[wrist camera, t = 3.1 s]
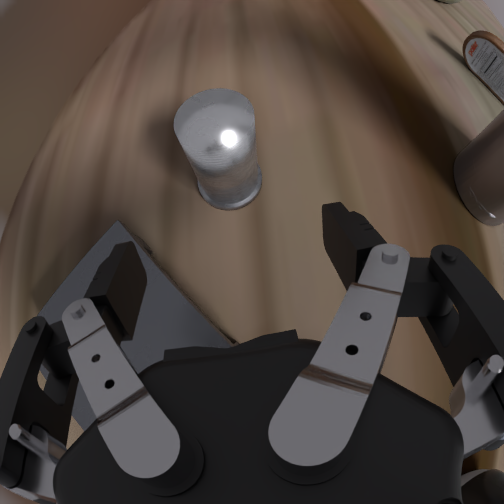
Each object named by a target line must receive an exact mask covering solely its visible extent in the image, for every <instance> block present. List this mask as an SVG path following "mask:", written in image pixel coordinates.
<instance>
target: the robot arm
mask: <svg viewBox="0 0 504 504" xmlns="http://www.w3.org/2000/svg"><path fill="white" fill-rule="evenodd" d="M454 180H455V183H456V187H457V190H458V192H459V195H460V197H461V199H462V201H463V202H464V204H465V206H466V207H467V208H468V210H469V211H470V212H471V213H472V214H473V215H474V216H475V217H476V218H477V219H478V220H480V221H481V222H482V223H485V224H487V225H491V226H495V225H499V224H502V223H504V110H503V111H502V112H501V113H500V114H499V115H498V116H497V117H496V118H495V119H494V120H493V121H492V122H491V123H490V124H489V125H488V126H487V127H486V128H485V129H484V130H483V131H482V132H481V133H480V134H479V135H478V136H477V137H476V138H475V139H474V140H473V141H472V142H471V143H469V144H468V145H467V146H466V147H465V148H464V149H463V150H462V151H461V152H460V153H459V154H458V156H457V157H456V159H455V163H454ZM322 222H323V241H324V246H325V250H326V252H327V254H328V256H329V258H330V260H331V262H332V263H333V265H334V267H335V269H336V271H337V273H338V275H339V277H340V279H341V280H342V282H343V284H344V286H345V288H346V290H347V293H346V295H345V297H344V299H343V301H342V303H341V305H340V307H339V309H338V311H337V313H336V315H335V317H334V319H333V321H332V323H331V325H330V327H329V329H328V331H327V333H326V335H325V337H324V339H323V341H322V342H320V341H316V340H310V339H298V336H297V332H296V329H294V330H289V331H284V332H279V333H273V334H268V335H263V336H260V337H257V338H255V339H252V340H250V341H247V342H244V343H242V344H239V345H236V346H233V347H230V348H215V347H201V346H191V347H183V348H175V349H166V350H164V357H163V360H161V361H158V362H156V363H154V364H152V365H150V366H148V367H147V368H145V369H144V370H142V371H141V372H140V373H138V372H137V370H136V369H135V367H134V366H133V364H132V363H131V361H130V360H129V358H128V357H127V355H126V354H125V352H124V351H123V349H122V348H121V346H120V345H121V341H131V340H133V336H134V332H135V328H136V324H137V320H138V316H139V312H140V308H141V304H142V301H143V297H144V293H145V290H146V286H147V274H146V271H145V268H144V266H143V264H142V261H141V259H140V256H139V254H138V251H137V249H136V246H135V244H134V243H133V242H132V241H128V242H124V243H119V244H116V245H115V246H114V247H113V249H112V251H111V253H110V255H109V257H107V258H106V259H105V260H104V261H103V262H102V263H101V264H100V265H99V267H98V269H97V271H96V274H95V275H94V277H93V281H91V283H90V285H89V287H88V289H87V291H86V293H85V296H84V298H82V299H79V300H76V301H74V302H73V303H71V304H70V305H69V306H68V307H67V308H66V309H65V311H64V312H63V315H62V320H60V321H58V322H55V323H53V324H50V325H49V324H48V322H47V321H46V319H45V318H44V317H42V316H37V317H34V318H32V319H31V320H29V321H28V322H27V323H26V324H25V325H24V326H23V328H22V329H21V331H20V334H19V336H18V338H17V340H16V342H15V344H14V347H13V349H12V351H11V354H10V356H9V358H8V361H7V363H6V366H5V368H4V371H3V373H2V376H1V378H0V484H1V485H2V486H3V487H4V488H6V489H8V490H10V491H12V492H14V493H16V494H18V495H20V496H22V497H24V498H26V499H29V500H33V501H35V502H37V503H40V504H56V503H57V504H463V501H462V495H461V471H462V463H463V459H465V458H467V457H469V456H471V455H473V454H474V453H476V452H478V451H480V450H482V449H485V450H495V449H497V448H499V447H500V446H502V445H503V444H504V300H503V299H502V298H501V296H500V295H499V294H498V293H497V291H496V290H495V289H494V288H493V286H492V285H491V284H490V283H489V281H488V280H487V279H486V278H485V277H484V275H483V274H482V273H481V272H480V271H479V270H478V268H477V267H476V266H475V265H474V264H473V263H472V262H471V260H470V259H469V258H468V257H467V256H466V255H465V254H464V253H463V252H462V251H461V250H460V249H458V248H456V247H454V246H450V245H438V246H435V247H434V248H433V249H432V250H431V255H430V258H413V257H410V255H409V253H408V252H407V251H406V250H405V249H404V248H402V247H400V246H398V245H394V244H387V242H386V241H385V240H384V239H383V238H382V236H381V235H380V234H379V233H378V232H377V231H376V230H375V229H374V227H373V226H372V225H371V224H369V222H368V220H367V219H366V218H365V217H364V216H363V215H361V214H359V213H357V212H355V211H353V212H349V211H348V210H347V209H346V208H345V206H344V205H343V204H342V203H341V202H336V203H329V204H323V206H322ZM453 304H454V305H455V307H456V308H457V310H458V313H459V314H458V313H457V311H456V310H455V308H454V307H453ZM398 317H418V318H419V320H420V322H421V323H422V325H423V327H424V329H425V331H426V333H427V334H428V336H429V338H430V340H431V342H432V344H433V346H434V348H435V350H436V352H437V354H438V356H439V358H440V360H441V362H442V364H443V366H444V368H445V370H446V372H447V374H448V376H449V378H450V380H451V383H452V385H453V387H454V388H453V389H452V391H451V393H450V396H449V404H450V408H451V415H450V414H449V413H448V412H447V411H445V410H444V409H442V408H441V407H439V406H437V405H435V404H433V403H432V402H430V401H428V400H426V399H424V398H422V397H421V396H419V395H417V394H415V393H413V392H412V391H410V390H408V389H406V388H404V387H403V386H401V385H399V384H397V383H396V382H394V381H392V380H390V379H389V378H387V377H385V376H383V375H382V374H381V371H382V368H383V365H384V361H385V358H386V355H387V352H388V349H389V346H390V343H391V339H392V336H393V333H394V329H395V326H396V322H397V318H398ZM41 364H42V365H43V366H44V367H45V368H46V369H47V371H48V372H49V374H48V377H47V381H46V384H45V387H44V391H43V390H42V389H41V388H40V387H39V385H38V381H37V376H38V373H39V370H40V367H41ZM79 380H80V383H81V385H82V387H83V389H84V392H85V394H86V396H87V398H88V401H89V403H90V405H91V407H92V409H93V411H94V413H95V415H96V417H97V418H96V420H95V421H94V422H93V423H92V424H91V425H90V426H89V427H88V428H87V429H86V430H85V431H84V433H83V434H82V435H81V436H80V437H79V438H78V439H77V440H76V441H75V442H74V443H73V444H72V445H71V447H70V448H69V449H68V450H67V449H66V444H67V438H68V432H69V426H70V421H71V415H72V410H73V405H74V400H75V396H76V391H77V387H78V382H79Z"/></svg>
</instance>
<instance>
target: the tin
mask: <svg viewBox="0 0 504 504" xmlns="http://www.w3.org/2000/svg"><path fill="white" fill-rule="evenodd" d="M463 56H464V59H465V62H466V64H467V66H468V67H469V69H470V70H471V71H472V72H473V73H474V74H475V75H476V76H477V77H478V78H479V79H480V80H481V81H482V82H483V83H484V84H485V85H486V86H487V87H488V88H489V89H490V90H491V92H492V93H493V94H494V95H495V96H496V97H497V98H498V99H499V100H500V101H501V103H502V104H503V105H504V42H503V41H502V40H500V39H499V38H498V37H497V36H495V35H494V34H492V33H490V32H487V31H475V32H473V33H471V34H470V35H469V36H468V37H467V38H466V39H465V41H464V44H463Z"/></svg>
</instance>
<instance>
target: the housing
mask: <svg viewBox="0 0 504 504" xmlns="http://www.w3.org/2000/svg"><path fill="white" fill-rule="evenodd" d="M174 131H175V134H176V136H177V138H178V140H179V142H180V144H181V146H182V148H183V150H184V152H185V154H186V156H187V158H188V160H189V162H190V164H191V166H192V168H193V171H194V173H195V175H196V177H197V179H198V187H199V190H200V193H201V195H202V196H203V198H204V199H205V201H206V202H207V203H209V204H210V205H211V206H213V207H215V208H217V209H220V210H229V211H230V210H237V209H240V208H243V207H245V206H247V205H248V204H250V203H251V202H252V201H253V200H254V199H255V198H256V197H257V195H258V193H259V191H260V189H261V185H262V174H261V169H260V167H259V165H258V163H257V149H256V133H255V118H254V110H253V107H252V104H251V103H250V101H249V100H248V99H247V98H246V97H245V96H244V95H242V94H240V93H239V92H236V91H233V90H230V89H222V88H217V89H209V90H205V91H202V92H199V93H197V94H195V95H193V96H192V97H190V98H189V99H187V100H186V101H185V102H184V103H183V104H182V105H181V106H180V108H179V109H178V111H177V113H176V115H175V118H174Z"/></svg>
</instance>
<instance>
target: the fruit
mask: <svg viewBox="0 0 504 504" xmlns="http://www.w3.org/2000/svg"><path fill="white" fill-rule="evenodd" d="M438 1H441V2H445V3H448V4H453V3H458V2H460V1H461V0H438Z"/></svg>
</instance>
